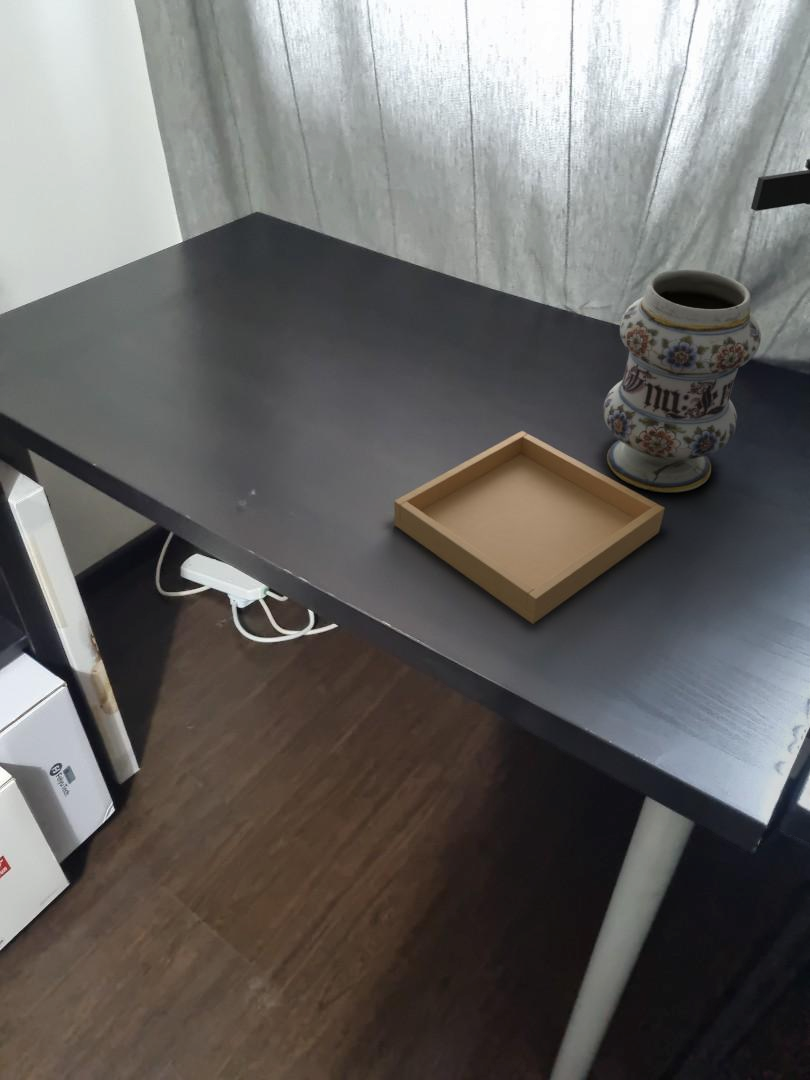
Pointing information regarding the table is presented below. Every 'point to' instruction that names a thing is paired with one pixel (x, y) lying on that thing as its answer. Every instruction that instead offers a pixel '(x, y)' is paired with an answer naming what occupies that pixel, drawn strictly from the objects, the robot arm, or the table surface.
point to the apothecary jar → (679, 378)
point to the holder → (528, 523)
